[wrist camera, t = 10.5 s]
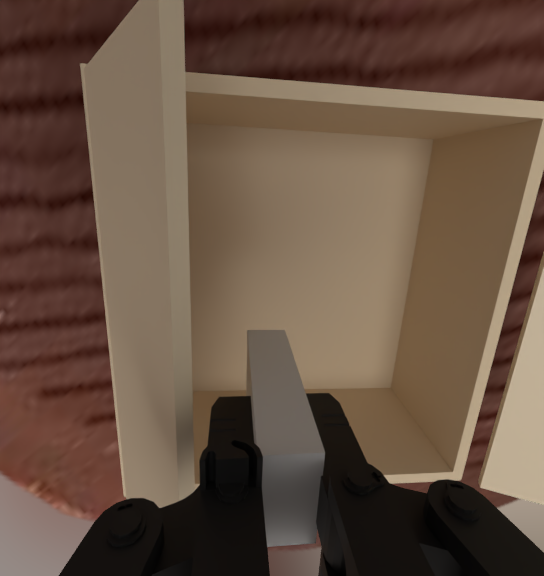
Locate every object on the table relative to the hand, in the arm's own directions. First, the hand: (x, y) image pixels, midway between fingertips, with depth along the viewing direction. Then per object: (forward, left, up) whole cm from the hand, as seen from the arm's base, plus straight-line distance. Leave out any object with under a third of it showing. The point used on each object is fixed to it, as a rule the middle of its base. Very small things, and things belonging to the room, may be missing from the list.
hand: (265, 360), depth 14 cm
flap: (0, -7, -4) cm, 8 cm away
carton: (0, +3, -14) cm, 14 cm away
